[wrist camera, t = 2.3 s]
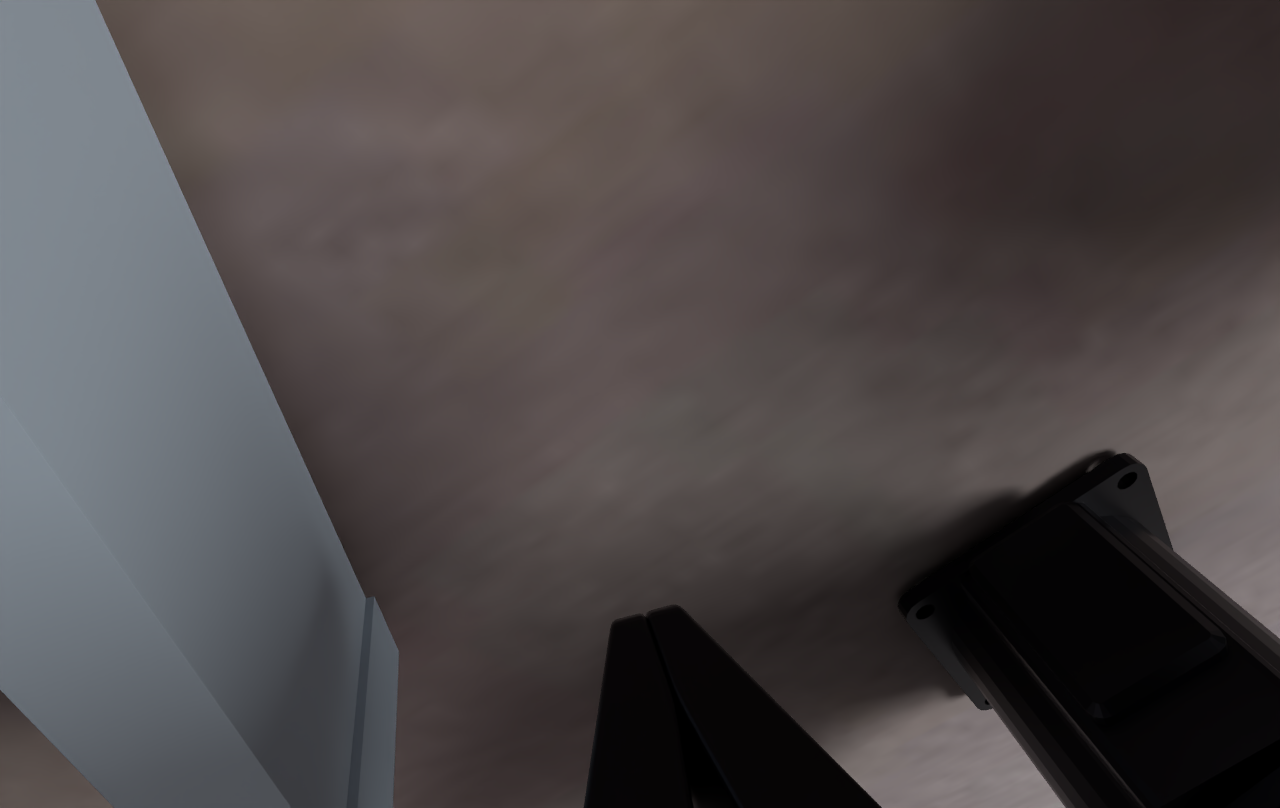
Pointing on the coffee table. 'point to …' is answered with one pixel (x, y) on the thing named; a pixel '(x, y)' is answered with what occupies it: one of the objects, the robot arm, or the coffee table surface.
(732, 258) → the coffee table surface
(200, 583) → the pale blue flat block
